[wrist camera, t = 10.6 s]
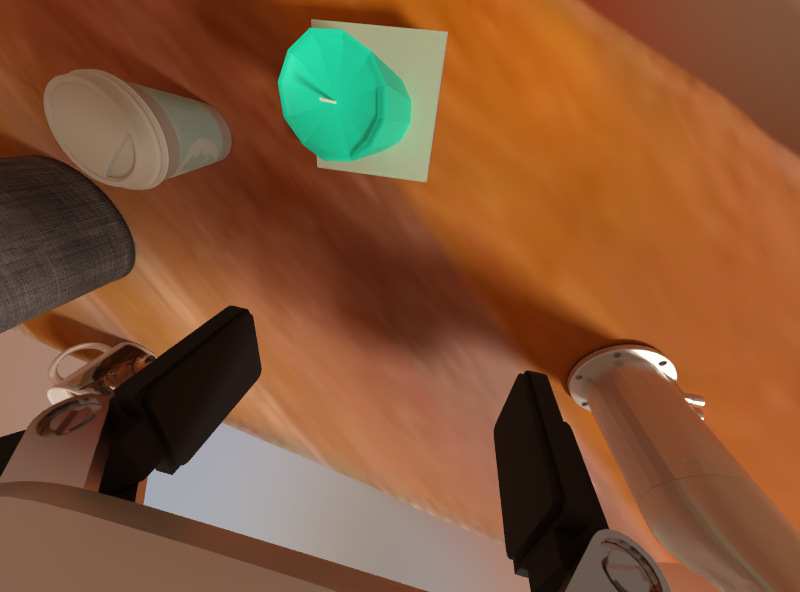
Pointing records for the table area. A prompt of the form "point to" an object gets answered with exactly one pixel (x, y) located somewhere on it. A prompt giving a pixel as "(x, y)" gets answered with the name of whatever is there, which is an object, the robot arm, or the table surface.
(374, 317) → the table surface
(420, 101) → the pedestal
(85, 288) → the planter
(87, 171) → the coffee cup
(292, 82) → the candle
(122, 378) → the mug
